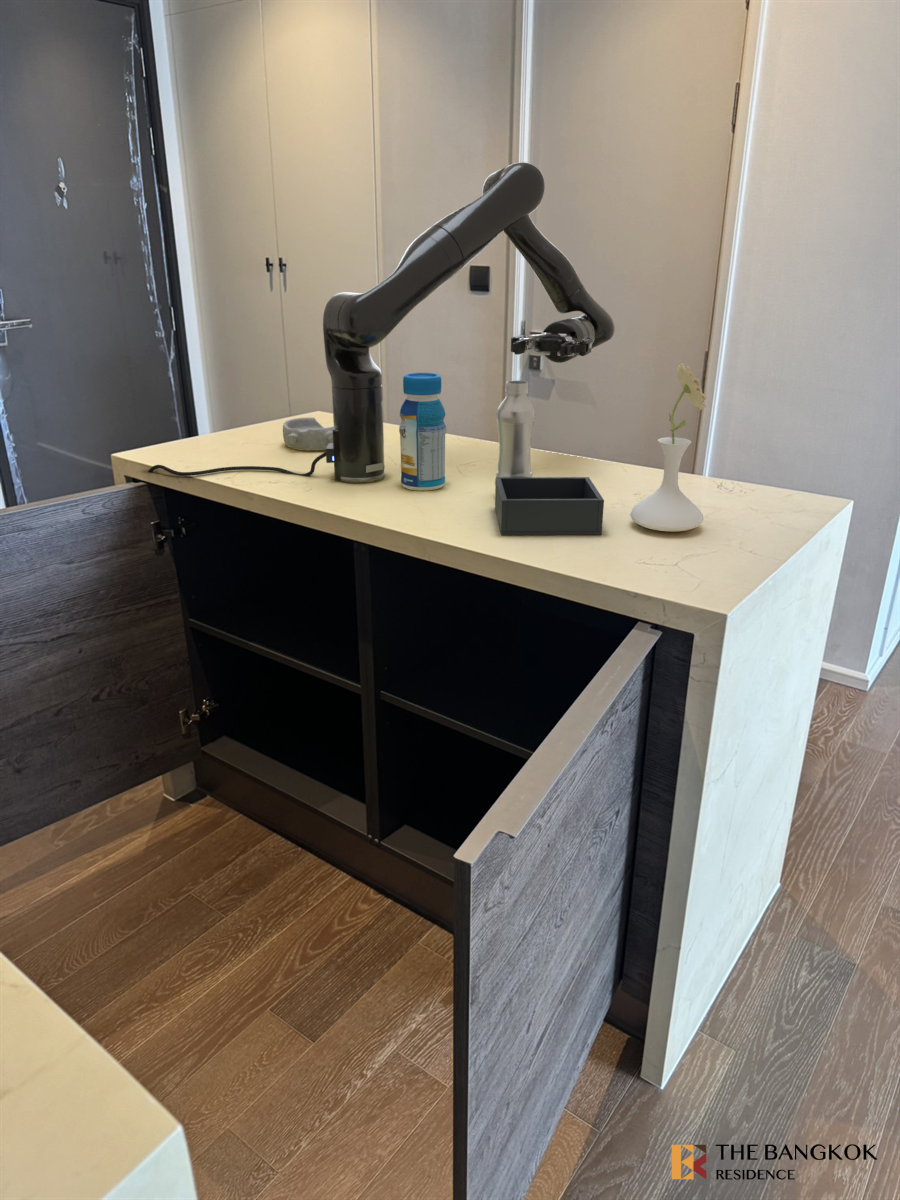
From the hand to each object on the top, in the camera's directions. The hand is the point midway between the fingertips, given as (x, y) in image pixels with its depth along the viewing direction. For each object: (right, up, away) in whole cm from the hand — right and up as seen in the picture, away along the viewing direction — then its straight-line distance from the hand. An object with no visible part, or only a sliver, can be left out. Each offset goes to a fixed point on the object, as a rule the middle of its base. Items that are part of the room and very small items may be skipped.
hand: (539, 349), depth 152 cm
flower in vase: (+19, -32, -14) cm, 40 cm away
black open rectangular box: (0, -32, -13) cm, 34 cm away
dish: (-46, -11, +37) cm, 60 cm away
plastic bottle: (-5, -26, 0) cm, 27 cm away
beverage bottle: (-21, -23, +7) cm, 32 cm away
